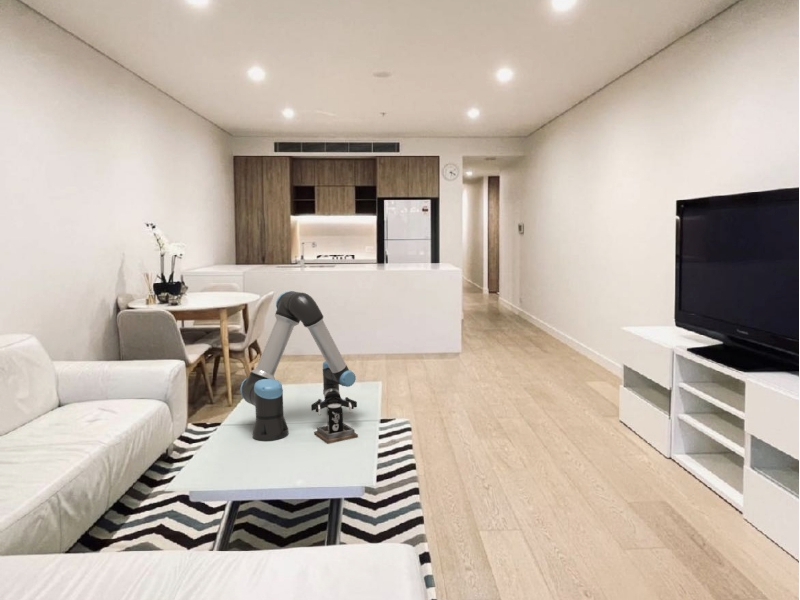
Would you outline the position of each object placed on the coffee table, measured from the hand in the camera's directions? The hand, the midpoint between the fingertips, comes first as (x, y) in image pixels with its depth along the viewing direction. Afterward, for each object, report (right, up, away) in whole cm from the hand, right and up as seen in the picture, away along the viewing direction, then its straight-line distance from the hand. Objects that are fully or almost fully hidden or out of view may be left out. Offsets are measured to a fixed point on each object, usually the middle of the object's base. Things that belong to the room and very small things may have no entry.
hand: (335, 410), depth 247 cm
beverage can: (+1, -9, -4) cm, 10 cm away
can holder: (+1, -10, -4) cm, 11 cm away
